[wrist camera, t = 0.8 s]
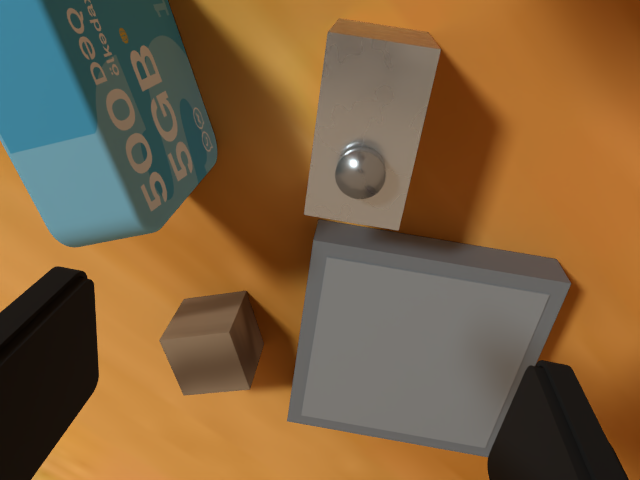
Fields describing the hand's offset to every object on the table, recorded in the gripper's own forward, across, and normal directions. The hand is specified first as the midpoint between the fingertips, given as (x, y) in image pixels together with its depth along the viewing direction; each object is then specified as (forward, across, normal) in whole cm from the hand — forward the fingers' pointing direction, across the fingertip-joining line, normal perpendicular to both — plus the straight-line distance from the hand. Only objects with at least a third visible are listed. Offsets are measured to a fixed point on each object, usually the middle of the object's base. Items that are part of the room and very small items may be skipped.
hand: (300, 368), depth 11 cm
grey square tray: (+23, -7, +15) cm, 28 cm away
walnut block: (+23, +7, +17) cm, 30 cm away
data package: (+23, +12, -1) cm, 26 cm away
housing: (+23, -1, -1) cm, 23 cm away
